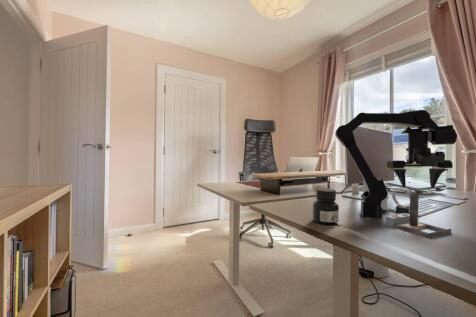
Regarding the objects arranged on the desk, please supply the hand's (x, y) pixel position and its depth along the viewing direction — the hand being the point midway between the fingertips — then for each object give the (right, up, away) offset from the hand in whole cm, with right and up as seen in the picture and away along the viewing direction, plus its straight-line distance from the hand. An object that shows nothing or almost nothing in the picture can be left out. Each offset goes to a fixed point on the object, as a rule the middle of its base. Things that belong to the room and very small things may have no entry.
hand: (418, 187), depth 83 cm
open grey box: (-8, -13, -10) cm, 18 cm away
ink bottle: (-34, -13, +1) cm, 36 cm away
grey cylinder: (-9, -12, -9) cm, 17 cm away
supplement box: (-4, -13, +21) cm, 25 cm away
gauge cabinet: (-10, -13, -5) cm, 17 cm away
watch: (+4, -13, +13) cm, 19 cm away
